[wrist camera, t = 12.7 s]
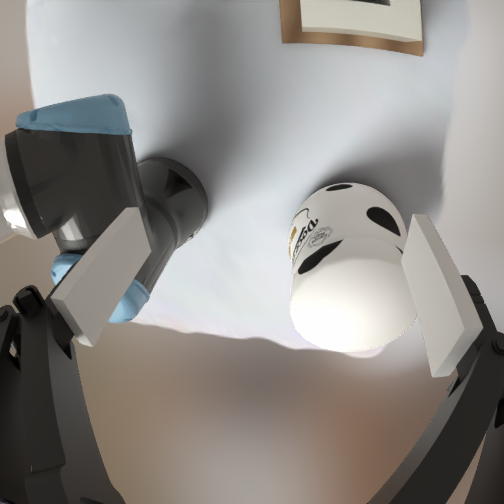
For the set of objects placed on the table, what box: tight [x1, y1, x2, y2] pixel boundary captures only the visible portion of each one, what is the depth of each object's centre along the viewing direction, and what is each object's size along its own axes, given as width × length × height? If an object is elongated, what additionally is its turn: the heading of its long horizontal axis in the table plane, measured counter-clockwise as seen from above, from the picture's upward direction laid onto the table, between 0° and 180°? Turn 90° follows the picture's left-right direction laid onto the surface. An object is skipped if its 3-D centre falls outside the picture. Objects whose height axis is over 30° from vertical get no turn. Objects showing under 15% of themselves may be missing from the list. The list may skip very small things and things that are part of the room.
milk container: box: [288, 183, 418, 352], centre depth 38 cm, size 17×17×18 cm
